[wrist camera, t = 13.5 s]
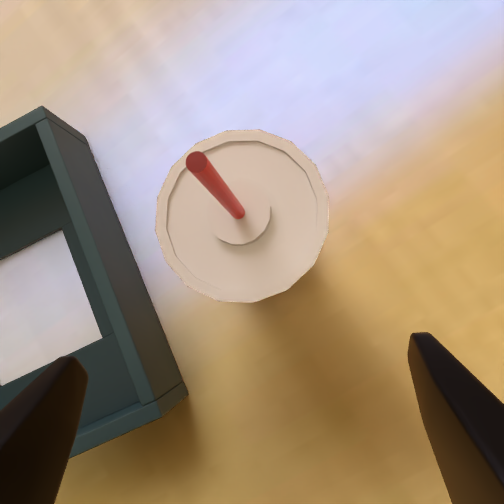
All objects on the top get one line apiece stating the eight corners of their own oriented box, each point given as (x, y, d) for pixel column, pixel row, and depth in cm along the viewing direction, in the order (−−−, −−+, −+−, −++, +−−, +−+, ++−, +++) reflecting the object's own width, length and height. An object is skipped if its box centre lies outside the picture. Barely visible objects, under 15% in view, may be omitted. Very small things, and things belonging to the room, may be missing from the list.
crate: (189, 394, 21) (162, 417, 17) (-24, 489, 22) (-94, 531, 18) (85, 135, 24) (41, 104, 20) (-99, 232, 25) (-173, 221, 21)
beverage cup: (283, 176, 22) (243, -28, 8) (341, 263, 21) (411, 201, 7) (197, 231, 22) (18, 129, 8) (249, 320, 21) (143, 368, 7)
